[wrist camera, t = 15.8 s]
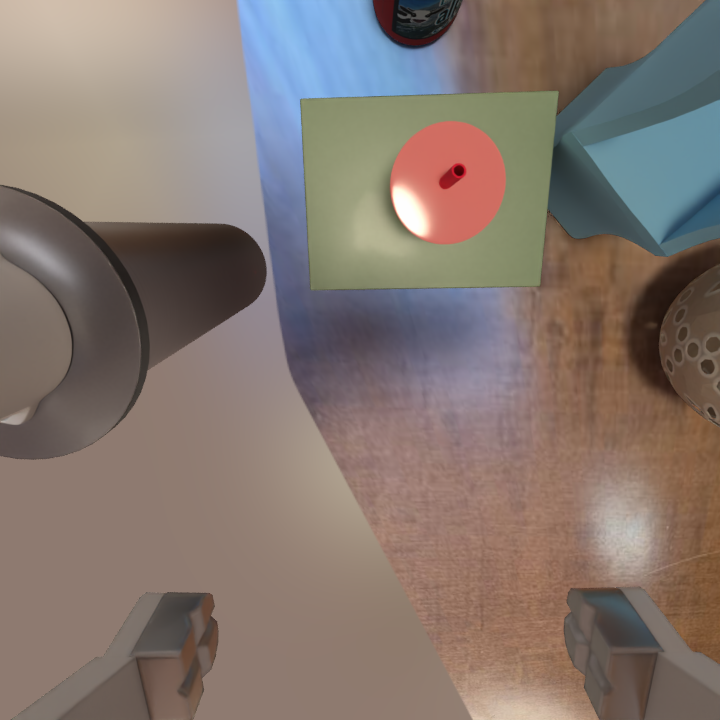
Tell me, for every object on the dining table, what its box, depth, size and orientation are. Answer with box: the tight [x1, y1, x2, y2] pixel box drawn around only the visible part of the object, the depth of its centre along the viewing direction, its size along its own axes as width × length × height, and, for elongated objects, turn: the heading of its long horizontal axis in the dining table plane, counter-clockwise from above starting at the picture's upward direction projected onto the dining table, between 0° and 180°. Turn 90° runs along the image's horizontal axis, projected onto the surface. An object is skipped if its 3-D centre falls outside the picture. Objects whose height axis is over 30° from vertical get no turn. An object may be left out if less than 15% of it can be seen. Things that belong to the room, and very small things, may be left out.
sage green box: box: [300, 91, 559, 290], centre depth 34 cm, size 16×12×10 cm
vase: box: [548, 0, 720, 257], centre depth 25 cm, size 10×10×25 cm
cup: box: [390, 121, 506, 244], centre depth 23 cm, size 5×5×12 cm
